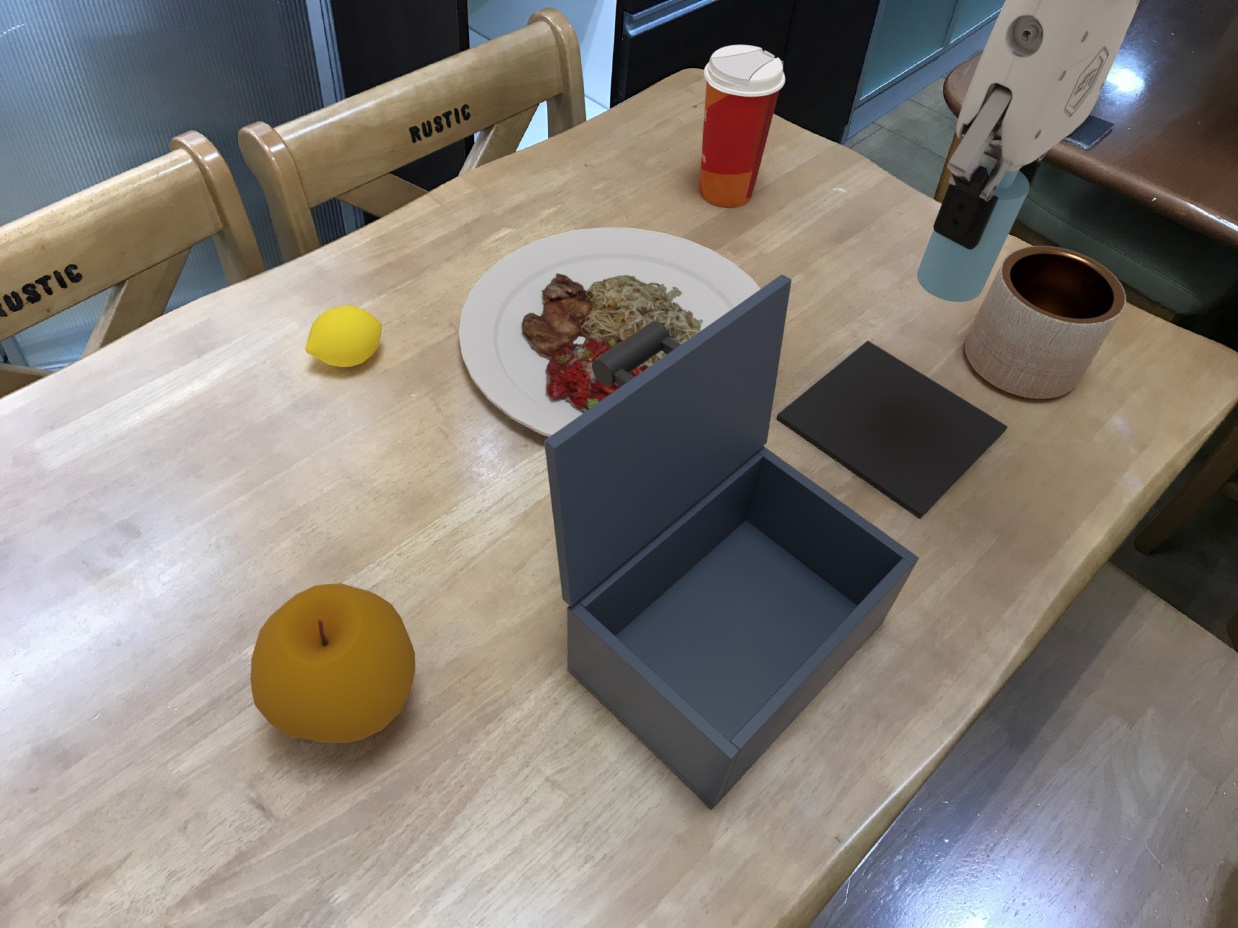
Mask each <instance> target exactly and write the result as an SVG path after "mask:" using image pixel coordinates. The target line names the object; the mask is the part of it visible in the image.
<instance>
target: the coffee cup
mask: <svg viewBox="0 0 1238 928" xmlns="http://www.w3.org/2000/svg"><path fill="white" fill-rule="evenodd" d="M775 56H776V55H774V54H772V53H771V52H769V51H767V50H763V48H762V47H759V46H755V45H748V44H732V45H726V46H723V47H720V48H719V49H717V50H715V51H714V52H712V54H711V56H710V58H709V61H708V62H707V64H706V65H705V66H704V69H703V76H704V78H705V80H706V81H705V82H706V85H705V98H704V113H703V126H702V141H701V155H700V169H699V170H700V172H699V173H700V174H699V175H700V177H699V193H700V195H701V197H702V198H703V200H705V201H707V202H708V203H709V204H712V205H714V206H717V207H721V208H737V207H741V206H744V205H746V204H747V203H748V202H749V201H750V200H751V198H752V196H753V193H754V190H755V187H756V184H757V179H758V176H759V173H760V172H759V171H760V168H761V163H762V160H763V158H764V157H763V156H764V152H765V149H766V145H767V141H768V136H769V133H770V128H771V124H772V121H773V117H774V114H775V109H776V106H777V101H778V98H779V94H780V90H781V89H782V88H783V87H784V85H785V82H786V76H785V72H784V66H783V62H782V60H781V59H780V58H779V57H775Z"/></svg>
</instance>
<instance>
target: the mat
mask: <svg viewBox="0 0 1238 928" xmlns="http://www.w3.org/2000/svg"><path fill="white" fill-rule="evenodd" d="M775 419H776V420H777V421H779V422H780V423H781V424H782V425H785V426H786V427H787V428H789V429H790V430H792V431H793V432H795V433H796V434H797V435H799V436H800V437H802V438H803V439H805V440H806V441H808V443H811V444H812V445H813V446H815V447H816V448H818V449H819V450H820V451H822V452H823V453H824V454H826V455H828V456H829V457H830V458H832V459H833V460H835V461H836V462H838V463H839V464H840V465H842V466H843V467H844V468H846V469H848V470H849V471H851V472H852V473H854V474H855V475H856V476H858V477H859V478H861V479H862V480H863V481H864V482H867V483H868V484H869V485H871V486H872V487H874V488H875V489H876V490H878V491H879V492H881V493H882V494H883V495H885V496H887V497H888V498H889V499H890V500H892V501H894V502H895V503H897V504H898V505H899V506H901V507H902V508H904V509H905V510H907V511H908V512H910V514H912V515H914V516H915V517H917V518H918V519H922V517H924V516H925V514H926V513H928V511H929V510H931V508H932V507H933V506H934V505H935V504H936V503H937V502H938V501H940V499H941V498H942V497H943V496H944V495H945V494H946V493H947V492H948V491H949V489H951V487H953V486H954V484H955V483H956V482H958V480H960V478H961V477H962V476H963V475H964V474H965V473H966V472H967V471H968V470H969V469H970V468H971V467H972V466H973V465H974V464H975V463H976V462H977V461H978V460H979V459H980V457H982V456H983V454H984V453H986V452H987V450H988V449H989V448H990V447H991V446H992V445H993V444H994V443H995V442H996V441H997V440H998V439H999V438H1000V437H1001V436H1002V435H1003V434H1004V433H1005V431H1006V430H1007V429H1008V425H1006V424H1005V423H1003V422H1002V421H1000V420H998V419H997V418H995V417H993V416H992V415H990V414H988V413H986V412H985V411H984V410H982V409H980V408H978V407H977V406H975V404H973V403H970V402H969V401H967V400H966V399H964V398H962V397H961V396H959V395H958V394H956V393H954V392H953V391H951V390H949V389H948V388H947V387H944V386H943V385H941V384H940V383H938V382H936V381H935V380H933V379H931V378H930V377H928V376H926V375H925V374H923V373H922V372H920V371H918V370H917V369H915V368H914V367H912V366H910V365H909V364H907V363H905V362H904V361H902V360H901V359H899V358H897V357H895V356H894V355H892V354H890V353H889V352H888V351H886V350H885V349H883V348H881V347H879V346H877V345H876V344H875V343H873V342H871V341H870V340H867V341H865V342H864V343H863V344H862V345H860V346H859V347H858V348H857V349H855V350H854V351H853V352H851V354H849V355H848V356H847V357H845V358H844V359H843V360H841V362H839V363H838V364H837V365H835V367H834V368H832V369H831V370H830V371H829V372H827V373H826V374H824V376H823V377H821V378H820V379H818V380H817V381H816V382H814V384H813V385H811V386H810V387H809V388H808V389H806V391H804V392H803V393H802V394H800V395H799V396H798V397H797V398H795V399H794V400H793V401H792V402H791V403H789V404H788V405H787V406H785V408H783V409H782V410H781V411H780V412H779V413H777V415H776V418H775Z"/></svg>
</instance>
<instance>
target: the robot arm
mask: <svg viewBox="0 0 1238 928" xmlns="http://www.w3.org/2000/svg"><path fill="white" fill-rule="evenodd" d="M1140 1H1141V0H1005V1H1004V2H1003V4H1002V7H1001V9H1000V12H999V14H998V16H997V19H996V21H995V24H994V26H993V28H992V29H991V32H990V34H989V37H988V39H987V42H986V44H985V46H984V49H983V51H982V54H981V56H980V58H979V61H978V63H977V66H976V67H975V70H974V73H973V75H972V78H971V80H970V83H969V86H968V89H967V91H966V94H965V97H964V99H963V102H962V105H961V109H960V111H959V114H958V118H957V122H956V127H955V134H956V137H957V139H958V140H959V141H960V143H959V144H958V145H957V147H956V149H955V151H954V152H953V154H952V155H951V157H950V158H949V160H948V163H947V167H946V168H947V169H948V170H949V171H950V173H951V174H950V176H949V178H948V186H947V188H946V192H945V194H944V197H943V199H942V202H941V205H940V206H939V207H940V208H939V211H938V213H937V215H936V218H935V221H934V223H933V227H932V228H933V230H934V231H935V232H936V233H938V234H940V235H942V236H944V237H946V238H948V239H950V240H951V241H953V242H955V243H957V244H959V245H961V246H963V247H965V248H966V249H969V250H972V249H974V248H975V247H976V246H977V245H978V244H979V242H980V240H981V237H982V235H983V233H984V230H985V228H986V226H987V224H988V221H989V219H990V217H991V214H992V212H993V210H994V208H995V205H996V203H997V201H998V199H999V197H997V196H995V195H994V194H995V192H996V190H997V188H998V186H999V184H1000V182H1001V181H1002V179H1003V177H1004V175H1005V173H1006V171H1007V169H1008V167H1009V165H1010V163H1011V162H1012V165H1013V166H1015V167H1021V166H1022V167H1021V168H1020V169H1019V171H1020V172H1021V173H1022V174H1024V176H1025V177H1026V178H1027V180H1028V182H1029V191H1030V189H1031V188H1032V185H1033V183H1034V181H1035V178H1036V176H1037V175H1038V172H1039V170H1040V168H1041V166H1042V164H1041V163H1040V161H1041V162H1042V160H1043V159H1044V157H1046V155H1047V153H1048V151H1049V150H1051V149H1052V148H1053V147H1054V146H1056V145H1057V144H1059V143H1060V142H1061V141H1063V139H1065V138H1066V137H1068V135H1070V134H1072V132H1074V131H1075V130H1076V129H1077V128H1079V127H1080V126H1081V125H1082V124H1083V123H1084V122H1085V121H1086V119H1087V118H1088V117H1089V116H1090V114H1091V113H1092V111H1093V109H1094V107H1095V106H1096V103H1097V101H1098V99H1099V96H1100V94H1101V92H1102V90H1103V87H1104V85H1105V83H1106V81H1107V79H1108V76H1109V74H1110V72H1111V69H1112V68H1113V65H1114V62H1115V60H1116V58H1117V56H1118V53H1119V51H1120V49H1121V47H1122V44H1123V42H1124V39H1125V37H1126V35H1127V33H1128V30H1129V28H1130V25H1131V23H1132V21H1133V18H1134V16H1135V13H1136V11H1137V9H1138V5H1139V3H1140ZM996 136H998V137H1000V138H1001V140H1002V145H1000V144H997V143H995V142H993V141H992V140H994V138H995V137H996ZM983 154H986V155H988V156H990V157H992V158H994V159H996V160H997V161H996V163H995V165H994V167H993V169H992V171H991V173H990V175H988V171H987V168H985V167H983V166H981V158H982V156H983ZM1035 160H1037V161H1035ZM1038 161H1039V162H1038ZM1029 191H1028V193H1029ZM1028 193H1027V195H1026V197H1027V196H1028ZM1022 207H1023V205H1022V206H1021V208H1020V210H1019V212H1020V211H1021V209H1022Z"/></svg>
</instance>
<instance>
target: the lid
mask: <svg viewBox="0 0 1238 928" xmlns="http://www.w3.org/2000/svg"><path fill="white" fill-rule="evenodd" d="M792 281H793V280H792V278H790V277H789V276H786V275H784V274H779V276H777V277H776V278H774V279H772V280H771V281H770V282H768V283H767V284H765V285H764V286H763V287H762V288H761V287H760V290H759V291H757V292H756V293H754V294H753V295H751V296H750V297H749V298H747V299H746V300H744V301H743V302H741V303H740V304H739V305H737V306H736V307H734V308H733V309H731V310H730V311H729V312H727V313H726V314H724V315H723V316H721V317H720V318H719V319H717V320H716V321H714V322H713V323H711V324H710V325H709V326H707V327H706V328H704V329H703V330H701V331H700V332H699V333H697V334H696V335H694V336H693V337H691V338H690V339H689V340H687V341H686V342H684V343H683V344H680V343H678V342H677V341H675V340H673V339H672V338H670V334H669V332H668V330H667V328H666V327H665V326H664V325H663V324H662V323H660V322H658V321H652V322H650V323H649V324H647V325H646V326H644V327H643V328H641V329H640V330H638V331H637V332H635V333H634V334H632V335H631V336H629V337H628V338H626V339H625V340H623V341H622V342H620V343H619V344H617V345H616V346H614V347H613V348H611V349H610V350H608V351H607V352H605V353H604V354H602V355H601V356H599V357H598V358H596V359H595V360H593V362H592V370H593V373H594V375H595V376H596V378H597V379H598V380H599V381H600V382H601V383H602V384H603V385H605V386H611V385H613V384H614V383H615V384H617V385H618V386H620V388H619V389H617V390H616V391H614V392H613V393H611V394H610V395H609V396H607V397H606V398H604V399H603V400H601V401H600V402H599V403H597V404H596V405H594V406H593V407H591V408H590V409H589V410H587V411H586V412H584V413H583V414H581V415H580V416H579V417H577V418H576V419H574V420H573V421H572V422H570V423H569V424H567V425H566V426H564V427H563V428H562V429H560V430H559V431H557V432H556V433H554V434H553V435H552V436H550V437H547V438H546V439H544V450H545V459H546V468H547V476H548V477H547V478H548V486H549V493H550V502H551V503H550V504H551V511H552V521H553V529H554V537H555V546H556V555H557V563H558V572H559V581H560V589H561V597H562V600H563V602H565V603H566V604H567V606H569V605H570V606H572V605H574V604H575V603H576V602H577V601H578V600H580V599H581V598H582V597H583V596H584V595H585V594H587V593H588V592H589V591H590V590H591V589H593V588H594V587H595V586H596V585H597V584H599V583H600V582H601V581H602V580H603V579H605V578H606V577H607V576H608V575H609V574H611V573H612V572H613V571H614V570H615V569H617V568H618V567H619V566H620V565H621V564H623V563H624V562H625V561H626V560H627V559H629V558H630V557H631V556H632V555H633V554H635V553H636V552H637V551H638V550H639V549H641V548H642V547H643V546H644V545H645V544H647V543H648V542H649V541H650V540H651V539H653V538H654V537H655V536H656V535H657V534H659V533H660V532H661V531H662V530H663V529H665V528H666V527H667V526H668V525H669V524H671V523H672V522H673V521H674V520H675V519H676V518H678V517H679V516H680V515H681V514H682V513H684V512H685V511H686V510H687V509H688V508H690V507H691V506H692V505H693V504H694V503H696V502H697V501H698V500H699V499H700V498H702V497H703V496H704V495H705V494H706V493H708V492H709V491H710V490H711V489H712V488H714V487H715V486H716V485H717V484H718V483H720V482H721V481H722V480H723V479H724V478H726V477H727V476H728V475H729V474H730V473H732V472H733V471H734V470H735V469H736V468H738V467H739V466H740V465H741V464H742V463H744V462H745V461H746V460H747V459H748V458H750V457H751V456H752V455H753V454H754V453H756V452H757V451H758V450H759V449H760V448H761V447H763V446H764V447H765V445H767V444H768V438H769V431H770V425H771V420H772V411H773V405H774V399H775V394H776V393H775V392H776V387H777V386H776V385H777V379H778V371H779V365H780V362H779V360H780V361H781V353H782V347H783V346H782V345H783V340H784V334H785V327H786V319H787V313H788V307H789V299H790V295H791V294H790V293H791V287H792ZM660 351H663V352H665V353H666V354H667V355H666V356H664V357H663V358H661V359H660V360H659V361H657V362H656V363H654V364H653V365H651V366H650V367H649V368H647V369H646V370H644V371H643V372H641V373H640V374H639V375H637V376H636V377H634V376H632V375H631V374H629V373H630V372H632V371H633V370H634V369H636V368H637V367H639V366H640V365H642V364H643V363H645V362H646V361H647V360H649V359H650V358H652V357H653V356H655V355H656V354H658V353H659V352H660Z"/></svg>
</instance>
